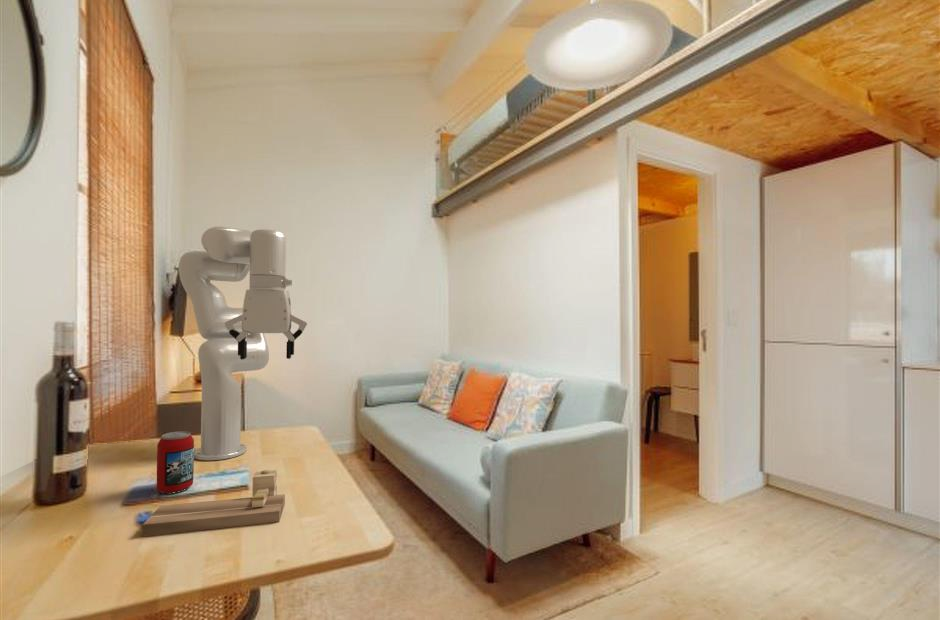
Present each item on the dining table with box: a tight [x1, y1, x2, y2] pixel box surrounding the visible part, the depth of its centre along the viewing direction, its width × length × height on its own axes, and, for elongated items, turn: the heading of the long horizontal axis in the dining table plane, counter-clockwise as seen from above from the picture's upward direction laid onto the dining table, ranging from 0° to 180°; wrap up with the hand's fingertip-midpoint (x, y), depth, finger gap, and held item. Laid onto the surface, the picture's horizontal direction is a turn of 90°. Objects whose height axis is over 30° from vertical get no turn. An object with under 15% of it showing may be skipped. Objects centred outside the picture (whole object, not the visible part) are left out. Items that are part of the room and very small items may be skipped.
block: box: [251, 468, 278, 508], centre depth 89 cm, size 10×4×6 cm, turn 16°
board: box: [141, 494, 286, 537], centre depth 84 cm, size 8×22×2 cm, turn 106°
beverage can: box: [156, 431, 195, 494], centre depth 98 cm, size 7×7×12 cm
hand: (266, 358), depth 103 cm, fingers open, 9 cm apart
